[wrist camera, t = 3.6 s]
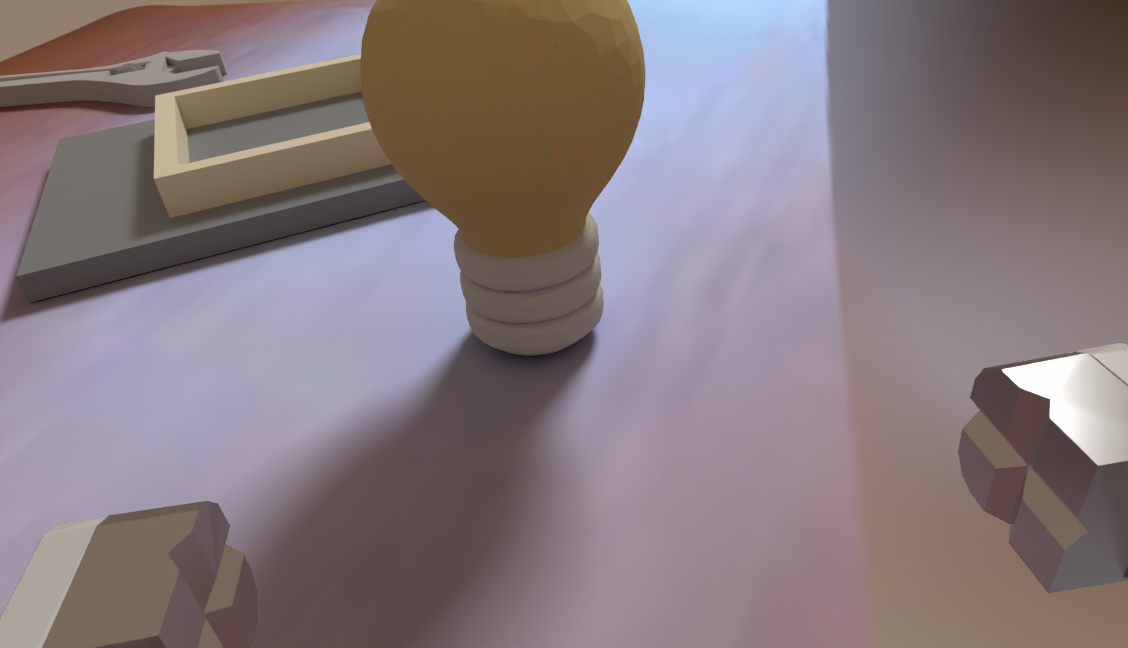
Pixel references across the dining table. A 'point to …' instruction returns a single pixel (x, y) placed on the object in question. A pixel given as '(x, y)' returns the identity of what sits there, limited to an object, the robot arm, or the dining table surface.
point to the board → (210, 178)
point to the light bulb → (510, 145)
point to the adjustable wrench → (117, 80)
